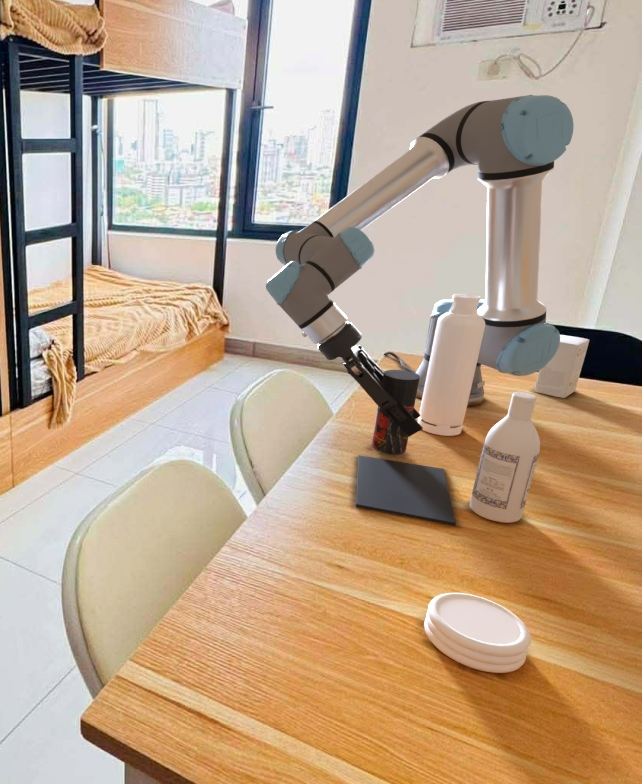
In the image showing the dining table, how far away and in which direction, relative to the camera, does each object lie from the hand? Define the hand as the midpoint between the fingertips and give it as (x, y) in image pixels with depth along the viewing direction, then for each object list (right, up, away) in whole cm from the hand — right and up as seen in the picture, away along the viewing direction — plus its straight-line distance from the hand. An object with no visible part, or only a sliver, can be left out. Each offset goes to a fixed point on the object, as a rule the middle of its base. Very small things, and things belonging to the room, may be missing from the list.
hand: (414, 425), depth 118 cm
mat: (-8, -10, -10) cm, 16 cm away
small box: (+53, +6, +33) cm, 63 cm away
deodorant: (-3, -5, +3) cm, 7 cm away
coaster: (-19, -23, -45) cm, 54 cm away
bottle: (+13, -1, +14) cm, 19 cm away
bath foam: (+3, -13, -18) cm, 22 cm away
